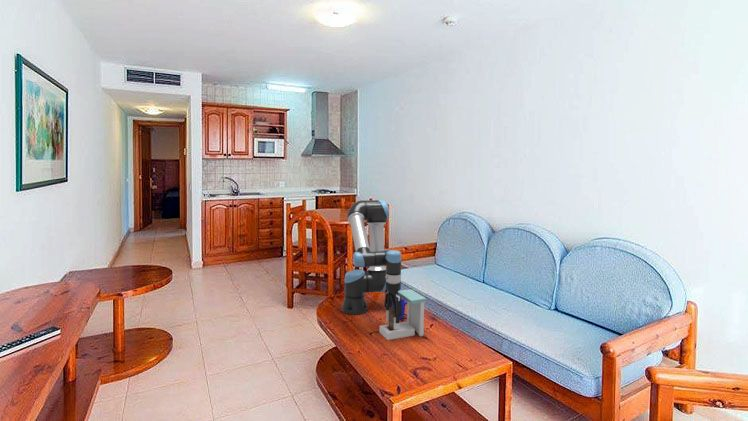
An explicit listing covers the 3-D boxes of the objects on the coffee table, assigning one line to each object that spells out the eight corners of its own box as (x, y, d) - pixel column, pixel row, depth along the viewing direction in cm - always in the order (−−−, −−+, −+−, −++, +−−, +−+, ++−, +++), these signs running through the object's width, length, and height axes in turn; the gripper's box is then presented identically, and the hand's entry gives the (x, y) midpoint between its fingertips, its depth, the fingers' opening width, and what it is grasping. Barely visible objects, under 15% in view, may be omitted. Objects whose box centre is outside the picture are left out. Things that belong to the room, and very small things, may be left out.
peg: (387, 333, 203) (387, 307, 201) (394, 332, 205) (394, 306, 203) (390, 336, 199) (391, 309, 198) (397, 335, 201) (398, 308, 199)
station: (377, 330, 207) (377, 293, 205) (410, 324, 215) (410, 289, 213) (390, 342, 193) (390, 303, 190) (425, 336, 200) (426, 298, 198)
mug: (410, 321, 219) (411, 304, 218) (389, 319, 221) (389, 302, 220) (412, 316, 227) (412, 299, 226) (391, 314, 229) (391, 297, 228)
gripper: (377, 277, 207) (377, 319, 209) (395, 288, 188) (395, 335, 190) (391, 275, 210) (390, 317, 212) (409, 287, 191) (408, 332, 193)
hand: (392, 325), depth 201 cm, fingers open, 8 cm apart
